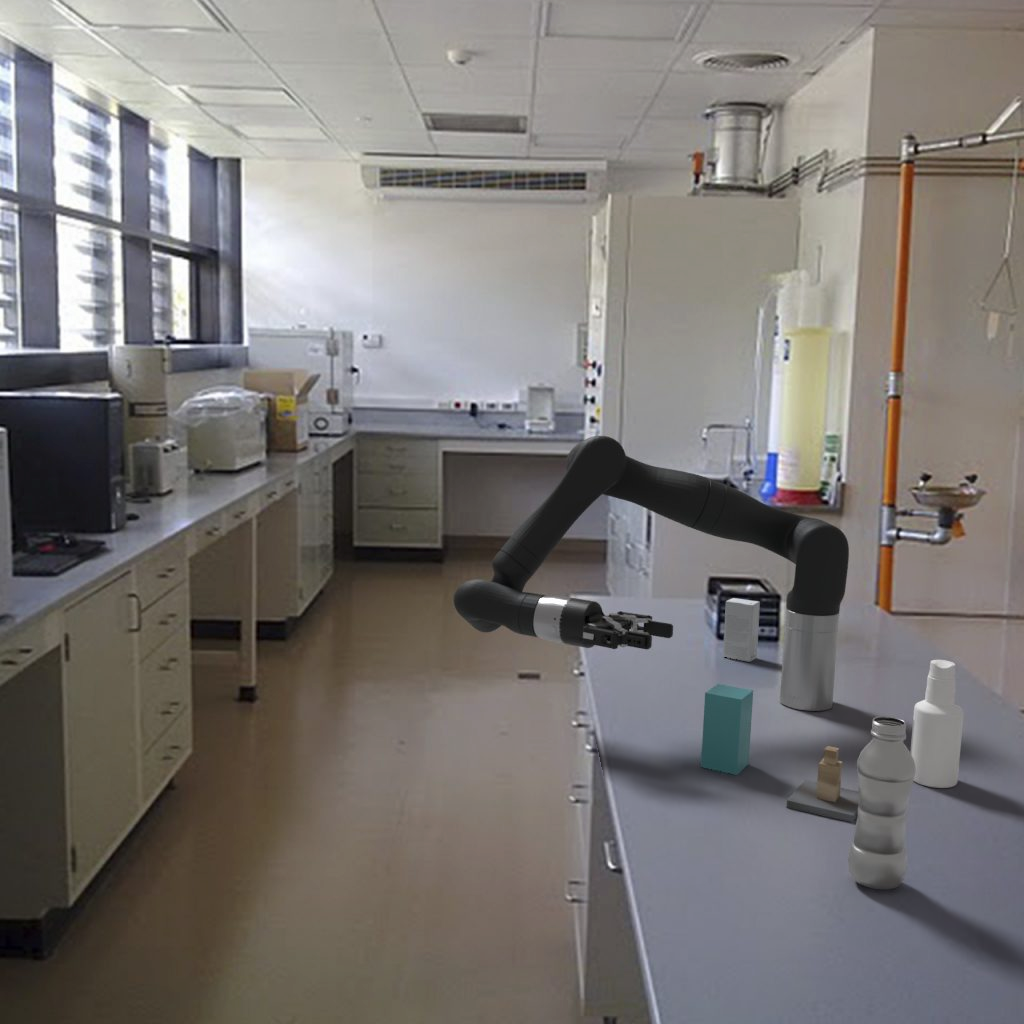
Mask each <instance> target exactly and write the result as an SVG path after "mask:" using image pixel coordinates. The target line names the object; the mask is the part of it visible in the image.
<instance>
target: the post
mask: <svg viewBox="0 0 1024 1024" xmlns="http://www.w3.org/2000/svg"><path fill="white" fill-rule="evenodd" d="M839 752H840V748H839V747H836V746H835V747H834V746H830V745H827V746H826V747H825V748H824V750H823V758H822V759H821V760H820V762H819V763H818V770H817V782H815V781H813V780H812V781H811V780H807V779H804V780H803V781H802V783H801V784H800V785H798V787H797V788H796V789H795V790H794V792H793V793H792V794H791V795H790V797H788V799H786V808H789V809H791V810H795V811H801V812H805V813H810V814H814V815H817V816H824V817H827V818H833V819H836V820H840V821H846V822H847V823H848V822H849V823H854V821H855V820H856V819H857V816H858V806H859V805H858V790H855V789H850V788H845V787H844V788H843V787H841V783H842V773H843V761H841V760H839Z"/></svg>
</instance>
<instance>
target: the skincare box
mask: <svg viewBox="0 0 1024 1024" xmlns="http://www.w3.org/2000/svg"><path fill="white" fill-rule="evenodd" d="M760 604H761V602H760V601H758V600H749V599H743V598H736V597H732V598H730V599H728V600H726V601H725V610H724V611H725V614H724V632H723V633H724V634H723V648H722V649H723V650H722V657H723V658H724V657H727V658H726V659H730V658H731V660H736V659H737V660H738V661H743V662H747V663H749V662H752V661H754V660H756V659H757V657H758V646H759V645H758V642H759V627H760V626H759V624H760V623H759V622H760V608H761V607H760V606H761V605H760Z"/></svg>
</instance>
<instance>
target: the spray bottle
mask: <svg viewBox="0 0 1024 1024" xmlns="http://www.w3.org/2000/svg"><path fill="white" fill-rule="evenodd" d="M955 674H956V664H955V663H954V662H953V661H949V660H946V659H932V660H930V664H929V671H928V675H927V679H926V689H925V694H924V696H925V697H924V699H922V700H920V701H918V702H916V703H915V704H914V708H913V718H912V729H911V742H910V751H909V752H910V754H911V755H912V757H913V759H914V762H915V767H916V771H915V777H914V780H913V783H914V782H915V783H916V784H918V785H922V786H924V787H928V788H934V789H935V788H936V789H948V788H953V787H955V786H957V784H958V780H959V768H960V760H961V759H960V758H961V748H962V738H963V737H962V735H963V725H964V710H963V709H962V708H961V707H960V706H959V705H957V704H956V703H955V702H956V701H955V700H956V692H955V691H956V681H957V679H956V675H955Z"/></svg>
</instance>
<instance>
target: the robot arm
mask: <svg viewBox="0 0 1024 1024" xmlns="http://www.w3.org/2000/svg"><path fill="white" fill-rule="evenodd" d="M567 454H568V455H567V457H566V461H565V467H566V471H565V474H564V476H563V478H561V480H560V481H559V483H558V484H557V485H556V487H555V488H554V489H553V491H552V492H551V493H550V494H549V495H548V497H547V498H546V499H545V500H544V501H543V502H542V503H541V504H540V505H539V506H538V507H537V508H536V510H535V511H534V512H532V513H531V514H530V515H529V516H528V517H527V518H526V519H525V521H523V522H522V524H520V526H519V527H518V528H517V529H515V531H514V533H513V534H511V536H510V537H509V538H508V540H507V541H506V542H505V543H504V545H503V546H502V547H501V548H500V550H498V552H497V553H496V554H495V556H494V557H493V559H492V562H491V567H492V569H493V573H494V574H493V577H492V579H491V580H488V579H481V578H479V579H478V578H477V579H469V580H467V581H464V582H463V583H462V584H460V586H458V587H457V588H456V590H455V592H454V595H453V605H454V609H455V610H456V611H457V613H458V615H459V616H460V617H462V618H463V620H465V621H466V622H467V623H468V624H469V625H471V626H472V628H474V629H475V630H477V631H479V632H480V633H491V632H494V631H496V630H498V629H499V628H500V627H502V626H503V627H505V628H506V629H509V631H512V632H513V633H515V634H519V635H522V636H523V635H524V636H528V637H532V638H533V637H534V638H539V639H542V640H545V641H549V642H552V643H557V644H563V645H569V646H575V647H580V648H585V649H591V648H593V647H595V646H597V647H603V648H606V649H607V648H608V649H612V650H616V649H618V647H620V648H626V647H630V648H637V649H641V650H649V649H651V648H652V645H653V644H652V643H653V642H652V641H653V636H654V637H659V638H664V639H670V638H673V636H674V625H673V623H668V622H663V621H656V620H653V616H652V615H649V614H648V615H647V614H639V613H633V612H624V611H622V610H621V611H617V612H615V613H613V612H612V613H609V614H608V615H606V614H605V613H604V611H603V609H602V606H601V604H600V603H599V602H597V601H593V600H588V599H582V598H576V597H570V596H563V595H549V594H548V595H547V594H541V593H534V592H524V589H525V586H526V584H527V583H528V581H530V579H532V576H534V574H535V573H536V572H537V570H538V569H539V568H540V567H541V566H542V565H543V563H544V562H545V560H547V558H548V557H549V556H550V554H551V553H552V552H553V550H554V549H555V548H556V547H557V545H558V544H559V542H560V541H561V540H562V538H563V537H564V536H565V535H566V533H567V532H568V531H569V530H570V529H571V527H572V526H573V525H574V524H575V522H576V521H577V520H578V519H579V518H580V517H581V516H582V514H584V512H585V511H586V510H587V509H588V508H589V507H590V506H591V505H593V503H594V502H595V501H596V500H597V499H598V498H599V497H600V496H602V495H604V496H607V497H611V498H614V499H615V498H616V499H619V500H623V501H626V502H628V503H633V504H635V505H637V506H640V507H642V508H644V509H647V510H649V511H651V512H653V513H655V514H657V515H658V516H661V517H664V518H667V519H668V520H672V521H674V522H675V523H678V524H680V525H683V526H685V527H687V528H690V529H693V530H695V531H699V532H701V533H704V534H706V535H710V536H713V537H718V538H721V539H726V540H731V541H735V542H736V541H737V542H741V543H742V542H743V543H748V544H752V545H756V546H758V547H761V548H763V549H766V550H768V551H770V552H772V553H774V554H777V555H778V556H781V557H782V558H784V559H786V560H788V561H790V562H791V563H793V564H794V565H795V569H794V570H795V571H794V581H793V585H792V586H793V587H792V588H791V590H790V591H788V593H787V595H786V603H785V617H784V618H785V620H784V630H783V631H784V632H783V633H784V635H783V636H784V637H783V645H782V647H783V649H782V650H783V651H782V660H781V661H782V663H781V677H780V678H781V679H780V691H779V702H780V703H781V704H783V705H784V706H786V707H788V708H790V709H796V710H801V711H807V712H808V711H810V712H811V711H812V712H815V711H816V712H820V711H826V710H830V709H832V707H833V705H834V704H833V701H834V688H835V681H836V680H835V679H836V678H835V677H836V666H837V665H836V664H837V652H838V651H837V650H838V638H839V637H838V635H839V623H840V620H839V619H840V613H841V612H840V609H841V603H842V601H843V599H844V597H845V594H846V588H847V587H846V586H847V577H848V570H849V569H848V568H849V561H850V560H849V558H850V557H849V556H850V550H849V549H850V546H849V541H848V539H847V536H846V535H845V532H843V531H842V530H841V529H840V528H839V527H837V526H836V525H833V524H831V523H829V522H827V521H824V520H821V519H818V518H814V517H809V516H805V515H802V514H801V515H800V514H797V513H792V512H790V511H784V510H781V509H777V508H776V507H775V508H774V507H772V506H770V505H767V504H765V503H763V502H761V501H760V500H758V499H756V498H755V497H752V496H751V495H749V494H746V493H745V492H743V491H742V490H739V489H737V488H735V487H732V486H731V485H728V484H725V483H722V482H719V481H717V480H714V479H712V478H708V477H707V476H703V475H699V474H696V473H692V472H687V471H683V470H676V469H671V468H665V467H658V466H654V465H650V464H647V463H644V462H642V461H639V460H637V459H634V458H632V457H630V456H628V455H626V452H625V449H624V448H623V446H622V444H620V442H619V441H618V440H616V439H615V438H613V437H610V436H607V435H594V436H591V437H587V438H585V439H584V440H582V441H580V442H578V443H577V444H576V445H575V446H573V448H572V449H571V450H570V451H569V453H567ZM639 623H640V624H642V623H643V626H641V625H639Z"/></svg>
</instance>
